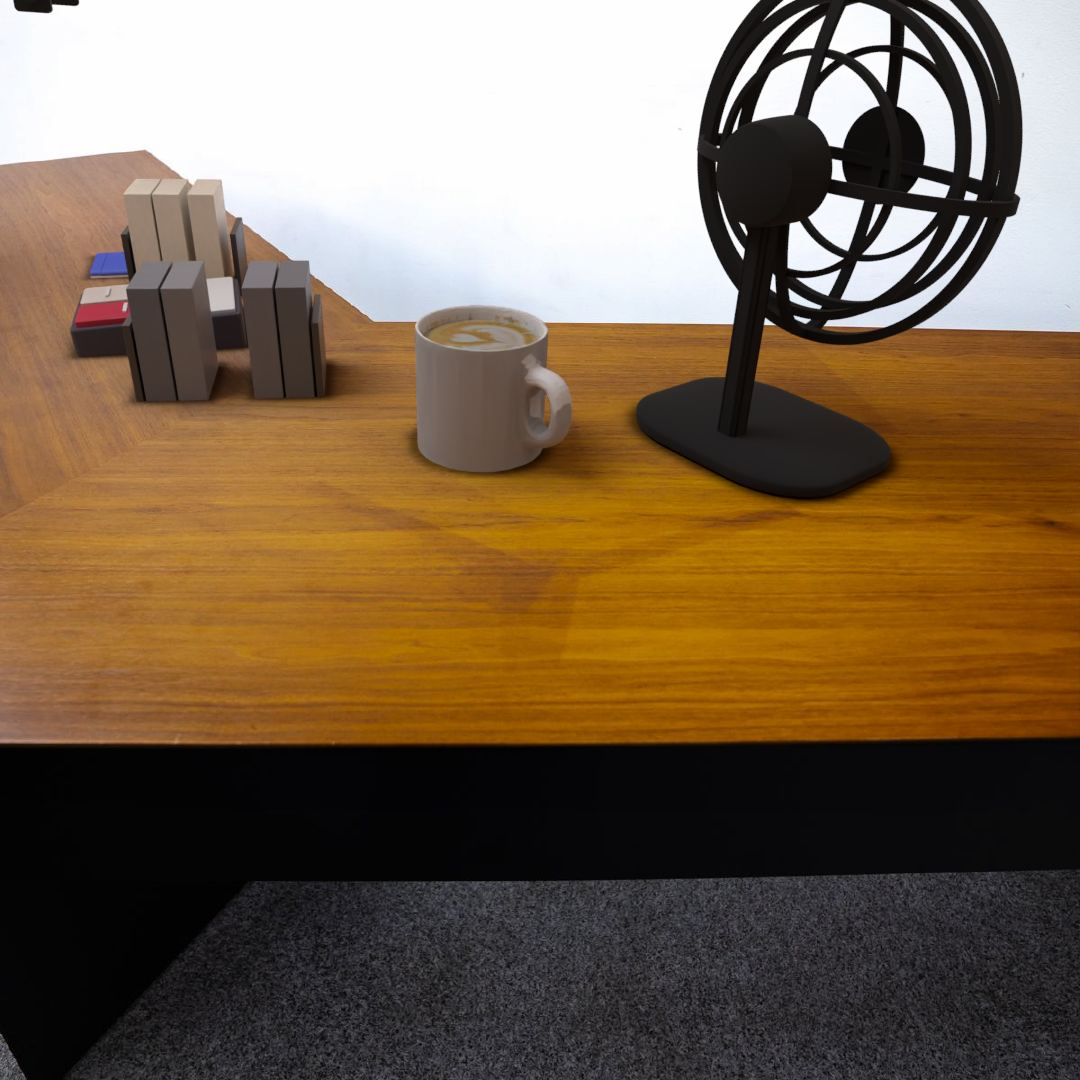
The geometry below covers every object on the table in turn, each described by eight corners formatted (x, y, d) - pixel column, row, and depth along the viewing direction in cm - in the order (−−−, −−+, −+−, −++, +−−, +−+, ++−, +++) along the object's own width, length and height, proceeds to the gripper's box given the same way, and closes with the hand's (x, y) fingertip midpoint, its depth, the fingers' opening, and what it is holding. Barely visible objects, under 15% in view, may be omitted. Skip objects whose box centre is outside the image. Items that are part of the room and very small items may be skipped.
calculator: (78, 284, 96) (236, 270, 100) (90, 326, 99) (243, 311, 102) (66, 322, 88) (239, 305, 91) (79, 367, 90) (247, 349, 93)
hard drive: (207, 247, 118) (97, 251, 115) (206, 267, 111) (89, 271, 108) (209, 260, 119) (99, 264, 116) (208, 280, 112) (92, 285, 109)
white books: (132, 300, 104) (113, 193, 98) (144, 280, 110) (126, 178, 104) (243, 299, 106) (230, 194, 100) (249, 279, 112) (237, 179, 106)
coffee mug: (393, 439, 79) (389, 319, 73) (493, 410, 84) (495, 297, 79) (492, 508, 70) (495, 378, 65) (596, 471, 76) (606, 348, 70)
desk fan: (970, 474, 78) (1130, -36, 59) (838, 543, 68) (979, -43, 50) (715, 366, 95) (776, -55, 77) (579, 408, 85) (613, -63, 67)
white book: (202, 300, 105) (186, 194, 99) (210, 280, 111) (196, 178, 105) (227, 300, 106) (213, 194, 100) (234, 280, 111) (221, 179, 106)
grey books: (137, 406, 82) (114, 288, 77) (152, 371, 88) (132, 260, 83) (324, 401, 85) (315, 287, 79) (326, 368, 91) (318, 260, 85)
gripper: (-2, -206, 93) (33, 0, 102) (-72, -230, 78) (-23, 12, 87) (82, -197, 94) (110, 5, 103) (29, -220, 80) (66, 18, 89)
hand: (49, 8), depth 95 cm, fingers open, 9 cm apart
